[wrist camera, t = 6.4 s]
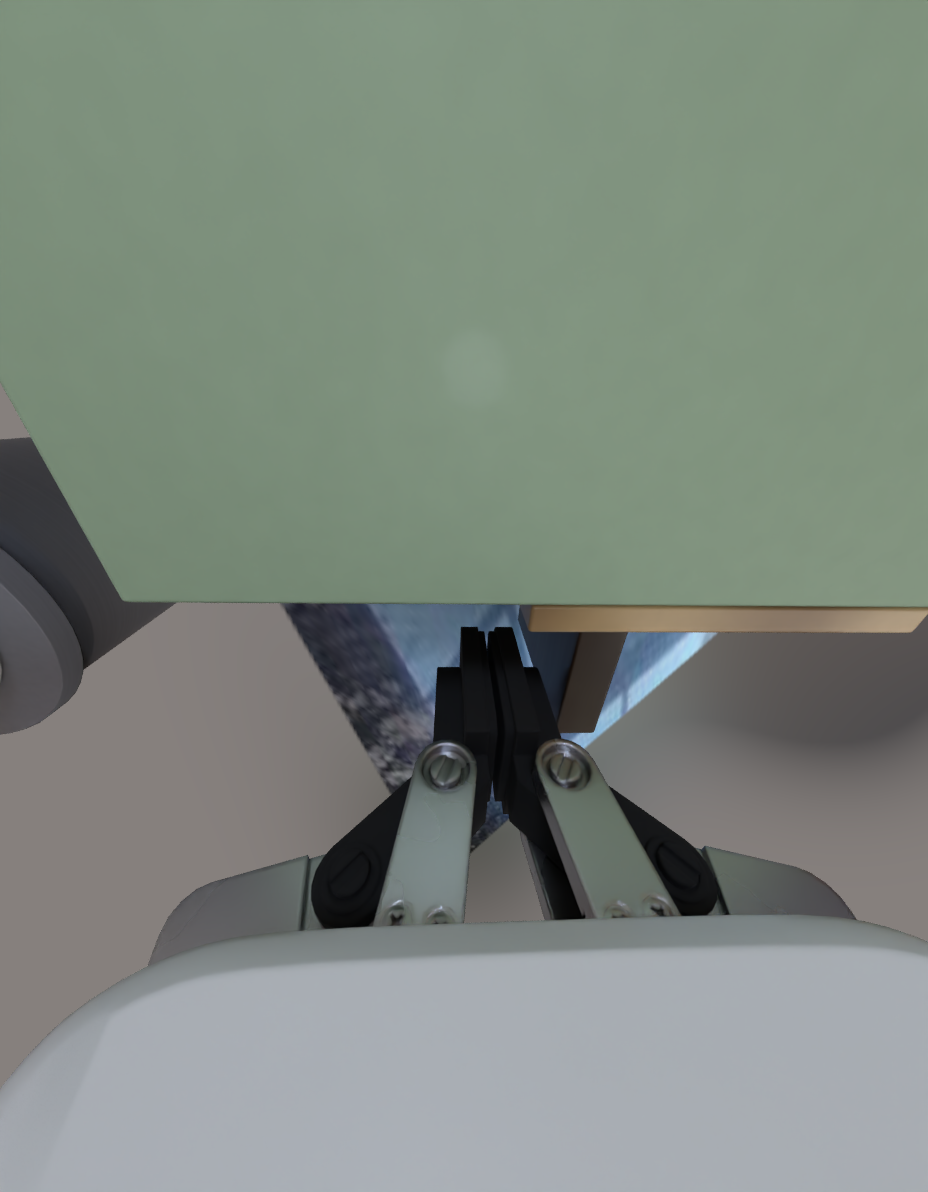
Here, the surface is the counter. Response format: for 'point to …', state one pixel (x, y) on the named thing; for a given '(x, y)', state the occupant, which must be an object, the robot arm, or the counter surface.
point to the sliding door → (597, 632)
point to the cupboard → (475, 296)
